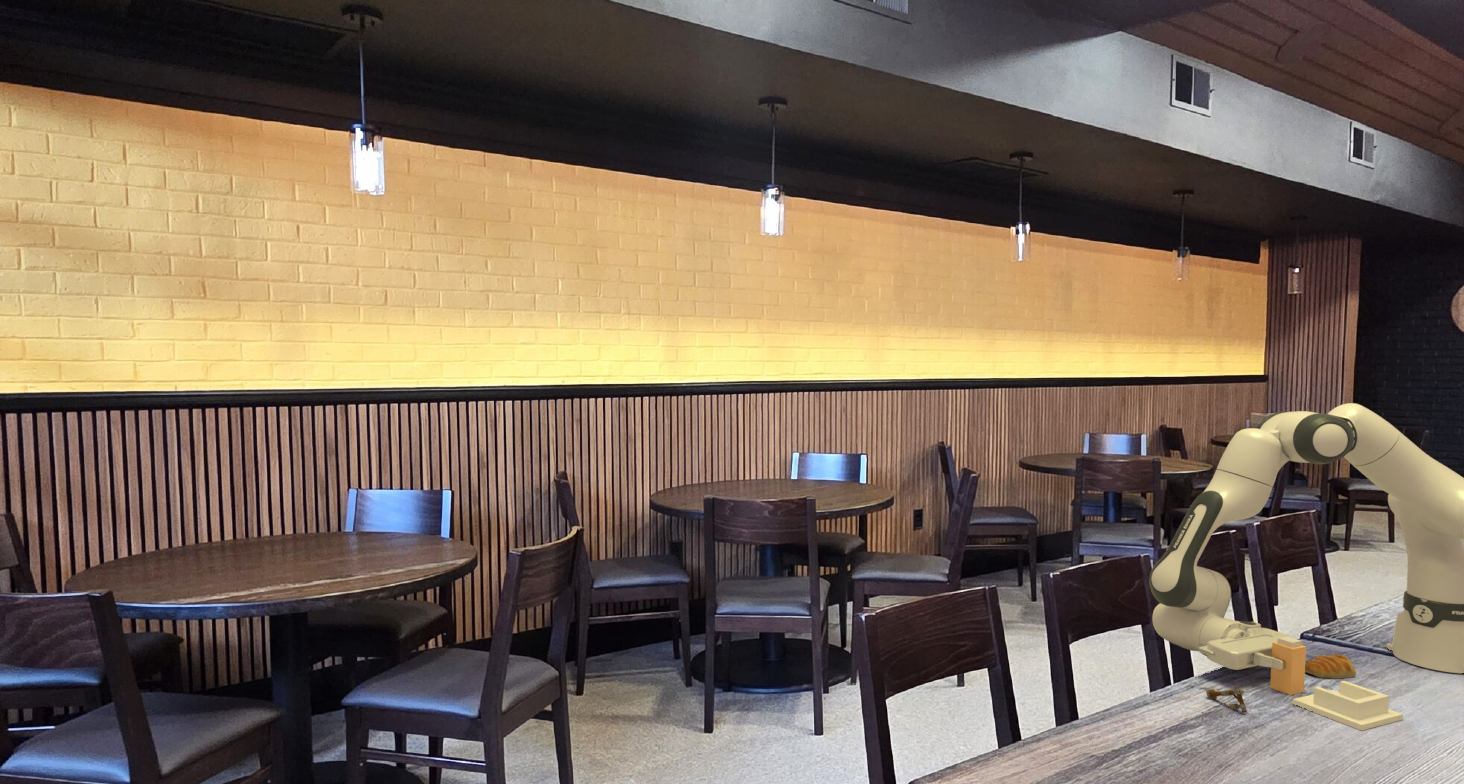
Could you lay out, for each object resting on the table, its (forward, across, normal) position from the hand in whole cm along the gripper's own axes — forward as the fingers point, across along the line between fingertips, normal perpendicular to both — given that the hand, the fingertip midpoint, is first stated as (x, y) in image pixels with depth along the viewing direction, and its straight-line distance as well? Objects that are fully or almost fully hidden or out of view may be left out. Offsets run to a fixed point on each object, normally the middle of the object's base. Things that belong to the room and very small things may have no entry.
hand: (1292, 663), depth 167 cm
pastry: (-3, +17, +6) cm, 19 cm away
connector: (-1, 0, +6) cm, 6 cm away
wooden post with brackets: (0, -18, +6) cm, 19 cm away
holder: (+10, 0, +6) cm, 12 cm away
